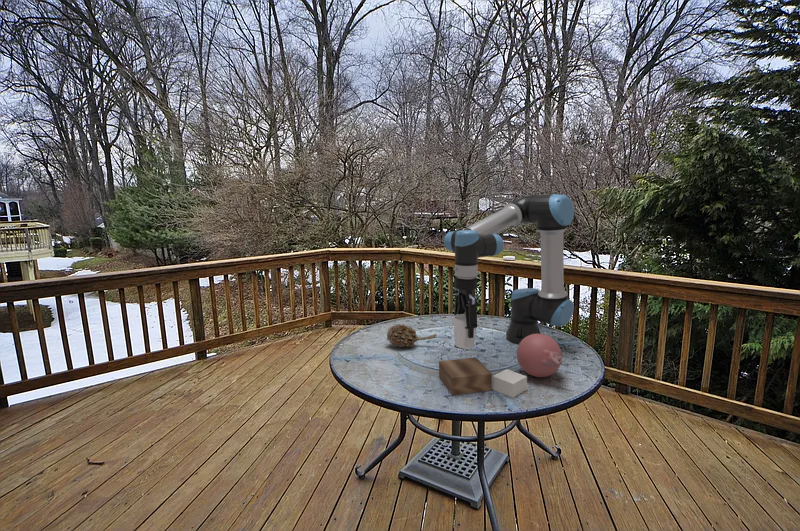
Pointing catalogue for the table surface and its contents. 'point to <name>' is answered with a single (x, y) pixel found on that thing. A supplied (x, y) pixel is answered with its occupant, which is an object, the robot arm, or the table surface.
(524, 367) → the balloon
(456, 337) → the white cup
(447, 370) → the walnut block
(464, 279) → the robot arm
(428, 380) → the table surface
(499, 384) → the pale block
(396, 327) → the pine cone
